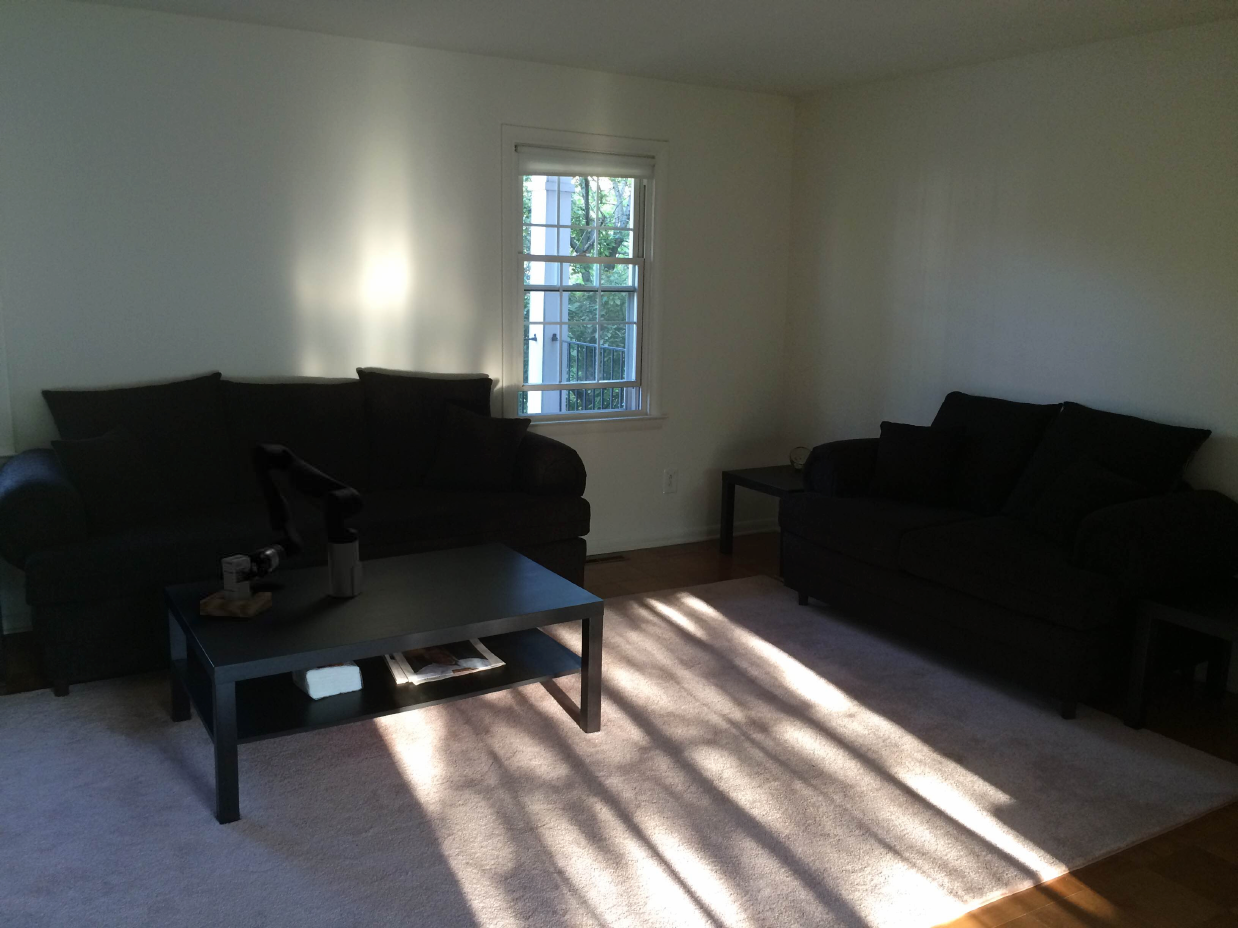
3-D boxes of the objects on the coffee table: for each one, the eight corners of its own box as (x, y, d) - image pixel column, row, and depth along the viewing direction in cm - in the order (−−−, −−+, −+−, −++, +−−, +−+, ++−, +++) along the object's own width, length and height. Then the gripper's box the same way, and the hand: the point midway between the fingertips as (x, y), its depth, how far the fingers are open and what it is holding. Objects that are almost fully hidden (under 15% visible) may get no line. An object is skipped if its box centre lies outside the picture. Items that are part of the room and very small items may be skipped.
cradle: (271, 604, 298) (271, 592, 297) (251, 617, 286) (250, 604, 286) (222, 602, 300) (221, 589, 300) (200, 614, 289) (199, 601, 288)
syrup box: (236, 608, 291) (233, 561, 288) (224, 605, 294) (221, 558, 291) (253, 603, 295) (250, 556, 293) (241, 600, 299) (238, 553, 296)
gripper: (239, 549, 307) (210, 563, 291) (282, 551, 305) (255, 566, 289) (240, 572, 309) (212, 588, 293) (283, 574, 307) (257, 590, 291)
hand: (233, 577), depth 291 cm, fingers closed on syrup box, 7 cm apart
